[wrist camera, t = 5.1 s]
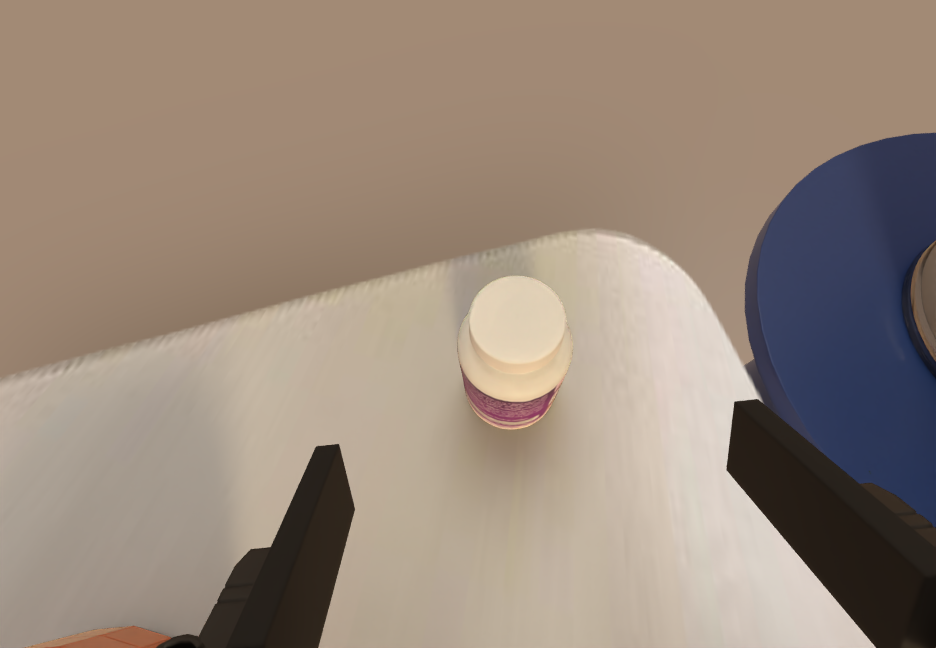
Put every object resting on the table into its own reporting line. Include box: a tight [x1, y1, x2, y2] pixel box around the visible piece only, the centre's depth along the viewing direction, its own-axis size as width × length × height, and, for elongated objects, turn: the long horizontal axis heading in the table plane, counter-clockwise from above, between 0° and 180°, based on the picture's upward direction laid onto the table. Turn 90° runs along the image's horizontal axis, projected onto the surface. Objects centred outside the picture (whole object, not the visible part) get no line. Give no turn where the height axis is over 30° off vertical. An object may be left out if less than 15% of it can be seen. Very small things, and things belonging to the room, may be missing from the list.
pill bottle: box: [457, 276, 573, 429], centre depth 23 cm, size 5×5×10 cm
